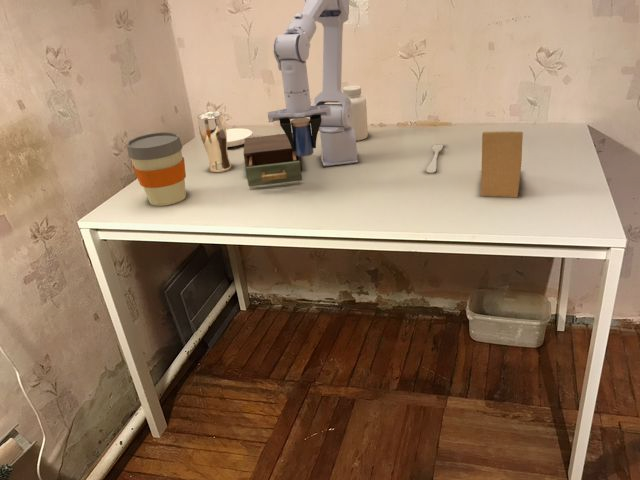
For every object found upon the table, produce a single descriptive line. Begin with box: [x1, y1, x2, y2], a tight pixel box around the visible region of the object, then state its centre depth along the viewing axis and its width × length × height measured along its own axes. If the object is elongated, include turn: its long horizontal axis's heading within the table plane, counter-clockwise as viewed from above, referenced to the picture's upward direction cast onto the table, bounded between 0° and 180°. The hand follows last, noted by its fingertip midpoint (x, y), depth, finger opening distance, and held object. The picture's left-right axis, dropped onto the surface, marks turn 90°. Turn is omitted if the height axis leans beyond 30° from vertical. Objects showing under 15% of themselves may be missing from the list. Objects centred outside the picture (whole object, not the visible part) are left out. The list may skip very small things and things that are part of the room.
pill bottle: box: [339, 85, 369, 142], centre depth 173 cm, size 8×8×15 cm
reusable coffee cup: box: [126, 131, 187, 207], centre depth 141 cm, size 12×12×15 cm
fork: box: [426, 144, 444, 174], centre depth 155 cm, size 3×21×3 cm, turn 167°
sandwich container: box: [480, 130, 524, 198], centre depth 134 cm, size 9×15×15 cm, turn 166°
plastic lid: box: [226, 127, 254, 148], centre depth 181 cm, size 14×14×2 cm
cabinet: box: [243, 132, 303, 172], centre depth 158 cm, size 14×15×7 cm
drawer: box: [245, 151, 303, 187], centre depth 148 cm, size 17×13×5 cm
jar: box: [290, 117, 314, 157], centre depth 137 cm, size 5×5×8 cm
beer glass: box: [196, 111, 232, 173], centre depth 157 cm, size 7×7×15 cm
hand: (303, 148), depth 139 cm, fingers closed on jar, 4 cm apart
